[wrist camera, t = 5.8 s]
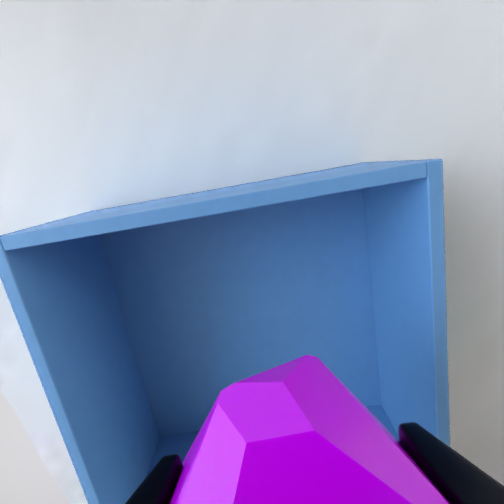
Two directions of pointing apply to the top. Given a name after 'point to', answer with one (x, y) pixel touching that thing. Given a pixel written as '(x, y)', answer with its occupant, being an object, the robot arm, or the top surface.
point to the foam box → (232, 307)
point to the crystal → (298, 446)
